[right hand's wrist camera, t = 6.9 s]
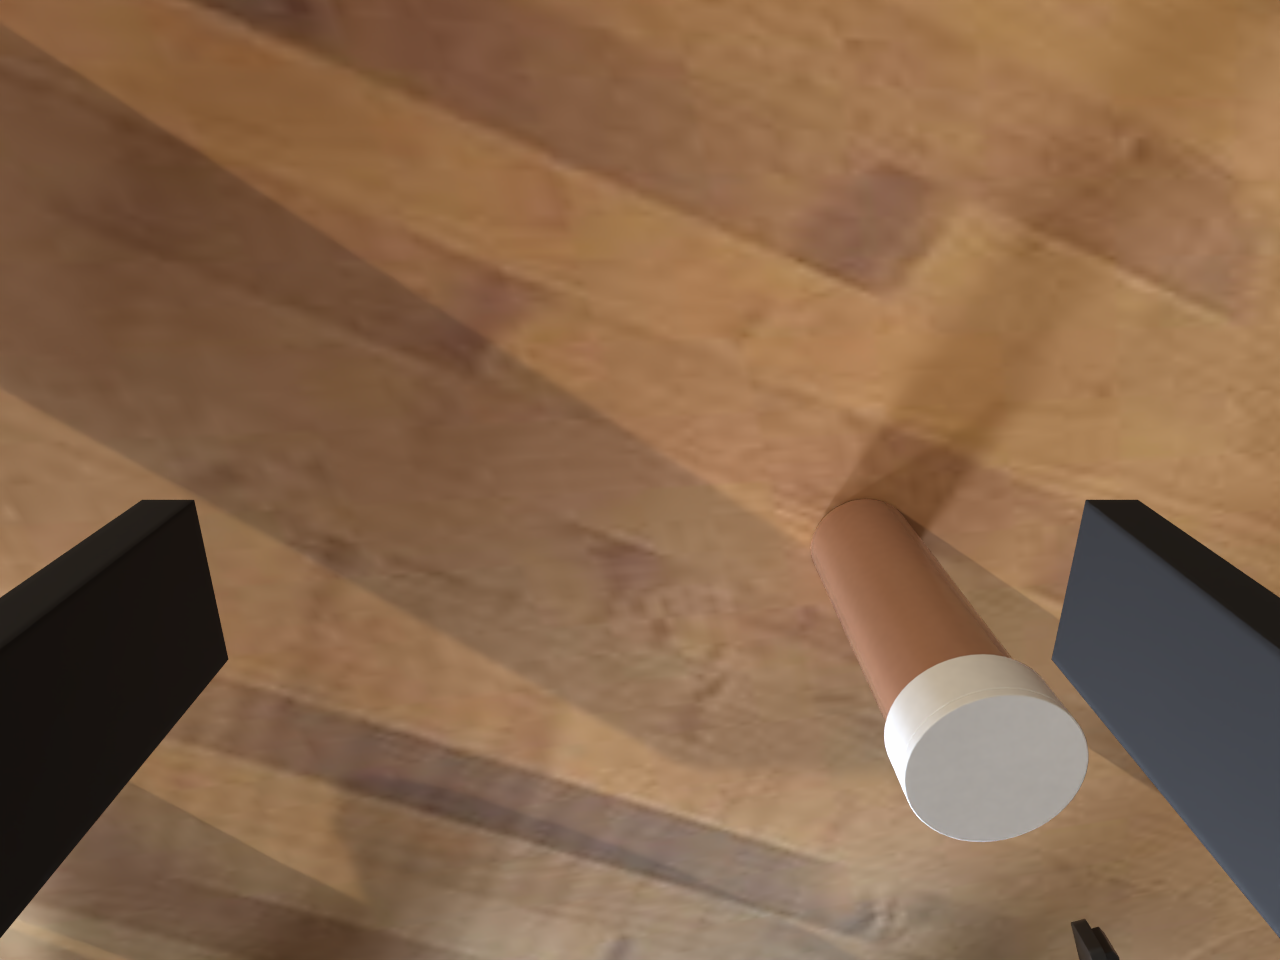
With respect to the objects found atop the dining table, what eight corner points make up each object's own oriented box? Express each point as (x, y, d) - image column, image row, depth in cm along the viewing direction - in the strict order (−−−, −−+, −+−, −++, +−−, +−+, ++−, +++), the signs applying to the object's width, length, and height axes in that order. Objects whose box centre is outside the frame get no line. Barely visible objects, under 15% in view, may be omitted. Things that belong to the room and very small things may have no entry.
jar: (926, 561, 41) (1090, 784, 26) (835, 604, 41) (945, 843, 27) (887, 481, 39) (1038, 671, 25) (793, 527, 40) (887, 738, 25)
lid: (1077, 751, 28) (1113, 798, 26) (922, 817, 29) (944, 866, 27) (1020, 625, 26) (1053, 664, 24) (856, 700, 27) (875, 744, 25)
